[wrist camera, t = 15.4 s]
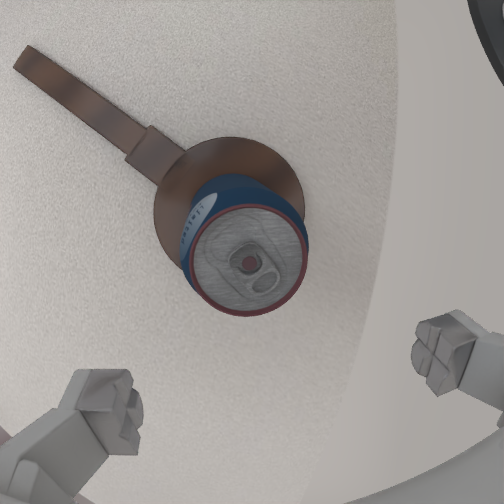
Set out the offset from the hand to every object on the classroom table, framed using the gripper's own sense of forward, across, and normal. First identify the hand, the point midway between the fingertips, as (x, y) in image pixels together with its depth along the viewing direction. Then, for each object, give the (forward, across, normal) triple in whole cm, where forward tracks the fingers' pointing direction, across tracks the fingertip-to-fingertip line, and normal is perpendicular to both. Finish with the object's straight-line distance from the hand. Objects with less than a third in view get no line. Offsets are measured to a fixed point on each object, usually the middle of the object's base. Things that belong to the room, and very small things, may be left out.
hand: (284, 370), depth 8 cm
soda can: (+20, 0, 0) cm, 20 cm away
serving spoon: (+20, +7, -7) cm, 23 cm away
